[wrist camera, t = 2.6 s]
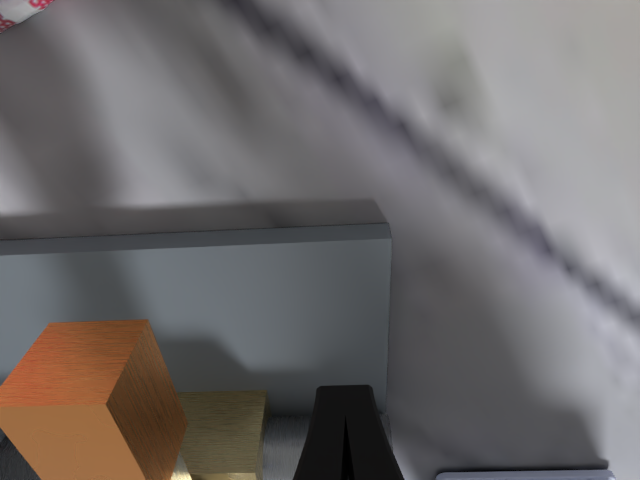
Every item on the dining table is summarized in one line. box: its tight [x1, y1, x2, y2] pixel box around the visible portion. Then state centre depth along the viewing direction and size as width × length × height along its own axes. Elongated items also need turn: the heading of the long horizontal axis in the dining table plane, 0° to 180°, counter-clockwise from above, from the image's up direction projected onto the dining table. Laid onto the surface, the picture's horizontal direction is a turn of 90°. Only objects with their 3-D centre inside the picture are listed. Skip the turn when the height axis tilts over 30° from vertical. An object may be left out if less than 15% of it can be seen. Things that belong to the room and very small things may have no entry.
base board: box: [0, 223, 392, 417], centre depth 21 cm, size 18×20×1 cm
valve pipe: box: [0, 390, 393, 480], centre depth 19 cm, size 18×5×4 cm, turn 94°
